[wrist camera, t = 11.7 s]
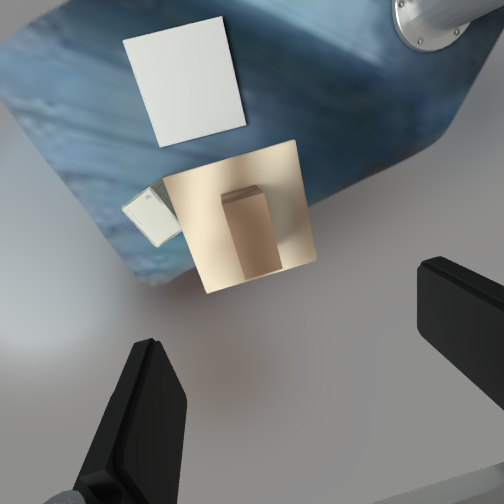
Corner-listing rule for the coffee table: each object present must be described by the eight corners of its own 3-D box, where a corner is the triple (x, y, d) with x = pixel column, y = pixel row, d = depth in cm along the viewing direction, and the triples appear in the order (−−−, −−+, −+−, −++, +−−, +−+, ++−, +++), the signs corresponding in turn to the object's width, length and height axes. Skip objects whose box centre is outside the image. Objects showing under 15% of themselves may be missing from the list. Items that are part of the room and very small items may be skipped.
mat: (221, 18, 35) (221, 16, 34) (245, 125, 40) (246, 124, 39) (124, 42, 34) (122, 40, 34) (160, 147, 39) (160, 147, 39)
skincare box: (143, 191, 41) (117, 207, 30) (166, 174, 41) (148, 184, 30) (170, 223, 44) (155, 249, 32) (192, 208, 43) (184, 229, 32)
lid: (291, 140, 23) (313, 137, 17) (313, 255, 27) (336, 281, 22) (164, 176, 22) (150, 185, 17) (207, 287, 26) (205, 321, 21)
